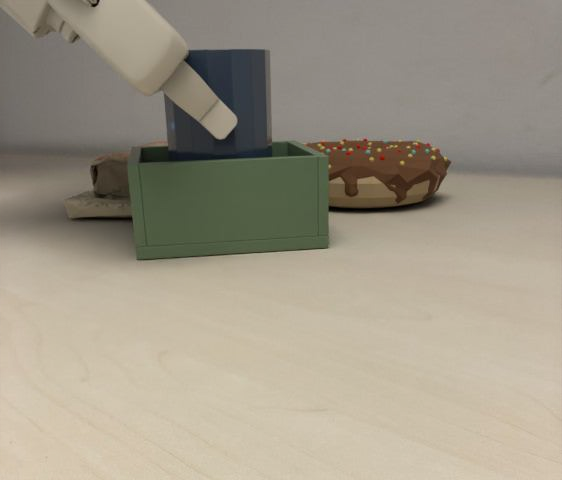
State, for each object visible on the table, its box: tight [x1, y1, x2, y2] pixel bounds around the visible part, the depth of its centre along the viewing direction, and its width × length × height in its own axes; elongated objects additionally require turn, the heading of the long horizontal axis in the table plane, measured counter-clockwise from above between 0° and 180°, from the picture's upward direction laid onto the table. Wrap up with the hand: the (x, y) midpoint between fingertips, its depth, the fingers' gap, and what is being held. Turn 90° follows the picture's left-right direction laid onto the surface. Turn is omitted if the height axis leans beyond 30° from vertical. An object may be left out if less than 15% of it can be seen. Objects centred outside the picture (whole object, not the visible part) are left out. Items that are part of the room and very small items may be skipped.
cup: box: [163, 48, 273, 162], centre depth 47 cm, size 7×7×10 cm
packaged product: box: [63, 141, 168, 219], centre depth 63 cm, size 18×5×10 cm
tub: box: [127, 140, 330, 260], centre depth 49 cm, size 12×11×6 cm
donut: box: [302, 137, 452, 209], centre depth 61 cm, size 14×14×5 cm
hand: (227, 126), depth 47 cm, fingers closed on cup, 7 cm apart
